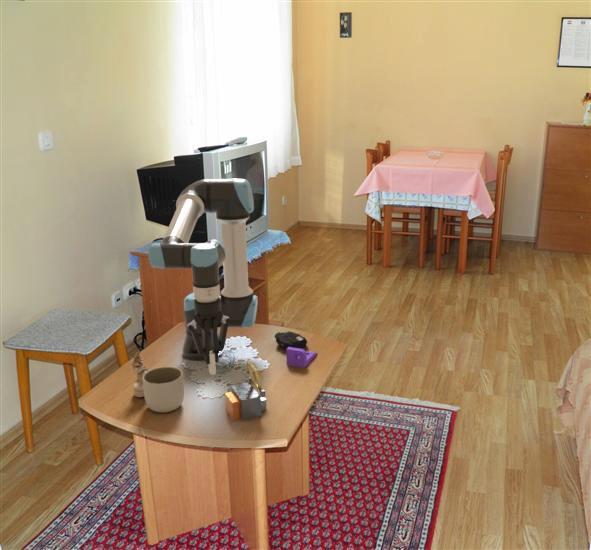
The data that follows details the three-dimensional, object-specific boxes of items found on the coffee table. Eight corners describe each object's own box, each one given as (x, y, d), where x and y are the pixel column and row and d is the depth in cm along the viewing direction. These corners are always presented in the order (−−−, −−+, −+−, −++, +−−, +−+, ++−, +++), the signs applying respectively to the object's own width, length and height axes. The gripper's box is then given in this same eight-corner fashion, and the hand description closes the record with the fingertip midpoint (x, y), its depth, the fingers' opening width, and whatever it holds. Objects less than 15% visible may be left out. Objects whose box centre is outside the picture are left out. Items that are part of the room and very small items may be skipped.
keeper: (251, 382, 205) (245, 360, 202) (254, 381, 206) (248, 359, 203) (260, 393, 198) (254, 371, 195) (263, 392, 199) (257, 369, 196)
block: (231, 405, 206) (230, 381, 204) (253, 400, 209) (252, 376, 206) (242, 421, 197) (241, 395, 194) (266, 415, 199) (265, 390, 197)
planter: (149, 419, 199) (146, 387, 196) (141, 402, 210) (138, 371, 207) (189, 411, 203) (187, 379, 200) (180, 394, 214) (177, 363, 211)
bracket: (304, 369, 231) (304, 351, 229) (286, 366, 233) (286, 349, 231) (317, 356, 241) (316, 339, 239) (299, 354, 244) (299, 336, 242)
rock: (295, 339, 254) (295, 325, 252) (309, 348, 248) (309, 334, 245) (273, 346, 249) (273, 332, 247) (287, 355, 242) (287, 341, 240)
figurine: (160, 396, 213) (156, 354, 209) (137, 401, 210) (133, 358, 206) (153, 387, 219) (149, 346, 215) (131, 392, 216) (127, 350, 212)
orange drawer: (260, 402, 208) (259, 385, 206) (268, 412, 202) (267, 394, 200) (226, 410, 203) (225, 392, 202) (233, 420, 197) (232, 402, 196)
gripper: (188, 306, 182) (194, 382, 189) (233, 298, 187) (237, 373, 194) (181, 297, 188) (187, 371, 196) (225, 290, 193) (229, 363, 201)
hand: (212, 372), depth 195 cm, fingers closed
